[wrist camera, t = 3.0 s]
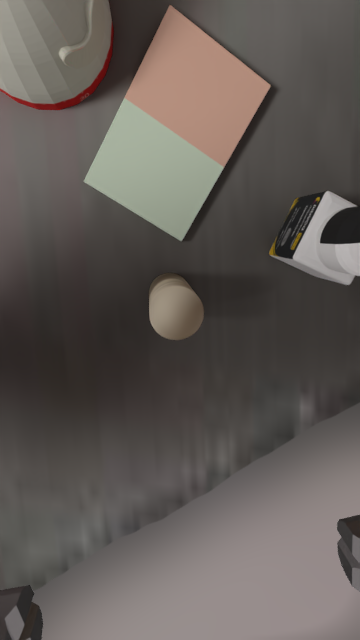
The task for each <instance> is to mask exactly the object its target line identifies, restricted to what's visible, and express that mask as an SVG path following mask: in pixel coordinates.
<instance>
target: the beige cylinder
mask: <svg viewBox="0 0 360 640" xmlns="http://www.w3.org/2000/svg"><path fill="white" fill-rule="evenodd" d="M149 317H150V322H151V325H152V326H153V328H154V329H155V331H156V332H157V333H158V334H160V335H161V336H163V337H165V338H167V339H171V340H181V339H185V338H187V337H189V336H191V335H193V334H194V333H195V332H196V331H197V330H198V329H199V327H200V326H201V324H202V321H203V317H204V309H203V305H202V302H201V300H200V299H199V297H198V296H197V295H196V293H195V292H194V291H193V289H192V288H191V287H190V286H189V284H188V283H187V282H186V280H185V279H184V278H183V277H181V276H180V275H178V274H175V273H165V274H162V275H160V276H158V277H157V278H155V279H154V281H153V282H152V284H151V286H150V289H149Z"/></svg>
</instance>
